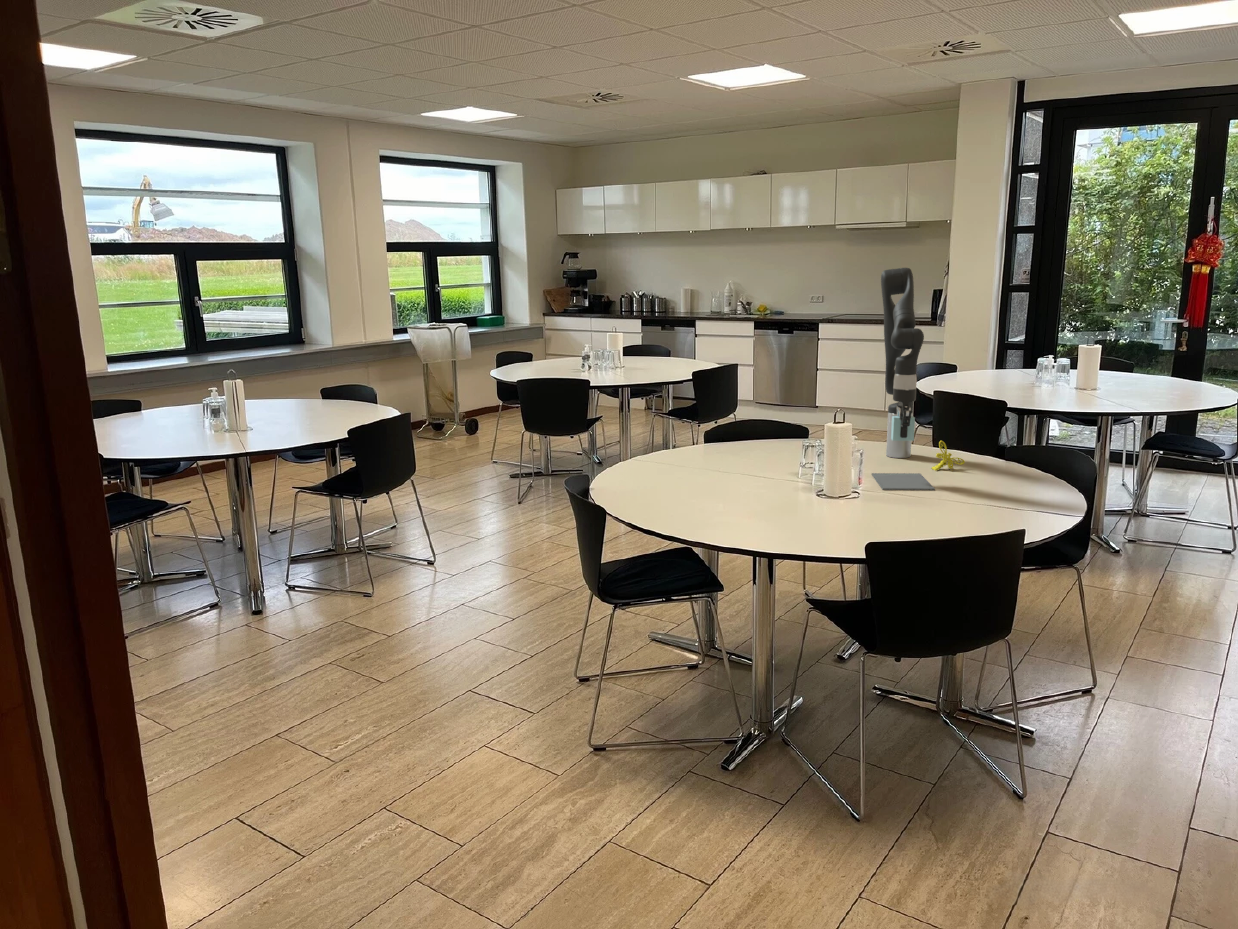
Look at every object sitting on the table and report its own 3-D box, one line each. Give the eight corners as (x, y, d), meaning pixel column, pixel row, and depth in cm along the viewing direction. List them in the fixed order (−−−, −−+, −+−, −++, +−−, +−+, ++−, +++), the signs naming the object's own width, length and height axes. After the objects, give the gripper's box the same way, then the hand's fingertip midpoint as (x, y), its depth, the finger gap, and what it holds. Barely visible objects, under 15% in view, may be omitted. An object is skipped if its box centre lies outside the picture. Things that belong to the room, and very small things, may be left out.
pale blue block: (890, 438, 317) (892, 416, 315) (911, 438, 316) (912, 416, 314) (892, 440, 313) (894, 417, 311) (913, 440, 312) (914, 417, 311)
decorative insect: (945, 481, 335) (964, 461, 334) (949, 483, 332) (968, 463, 331) (921, 460, 332) (940, 439, 331) (925, 461, 329) (944, 441, 328)
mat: (871, 474, 326) (871, 473, 326) (920, 474, 325) (920, 473, 324) (882, 490, 305) (882, 488, 305) (934, 490, 303) (934, 488, 303)
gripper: (889, 384, 318) (887, 432, 322) (897, 390, 304) (895, 440, 308) (911, 384, 317) (909, 432, 321) (920, 389, 303) (917, 440, 307)
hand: (902, 436), depth 314 cm, fingers closed on pale blue block, 3 cm apart
